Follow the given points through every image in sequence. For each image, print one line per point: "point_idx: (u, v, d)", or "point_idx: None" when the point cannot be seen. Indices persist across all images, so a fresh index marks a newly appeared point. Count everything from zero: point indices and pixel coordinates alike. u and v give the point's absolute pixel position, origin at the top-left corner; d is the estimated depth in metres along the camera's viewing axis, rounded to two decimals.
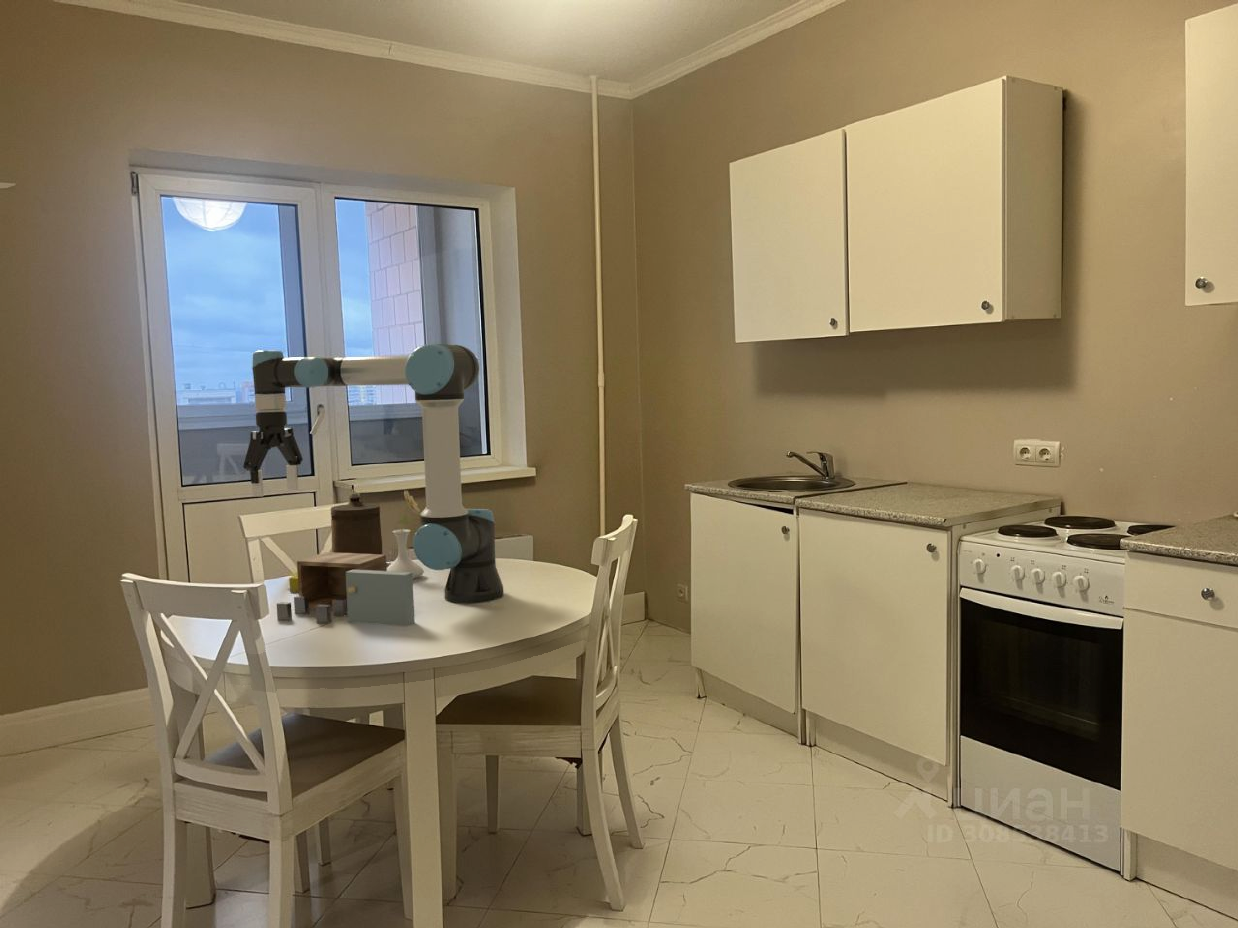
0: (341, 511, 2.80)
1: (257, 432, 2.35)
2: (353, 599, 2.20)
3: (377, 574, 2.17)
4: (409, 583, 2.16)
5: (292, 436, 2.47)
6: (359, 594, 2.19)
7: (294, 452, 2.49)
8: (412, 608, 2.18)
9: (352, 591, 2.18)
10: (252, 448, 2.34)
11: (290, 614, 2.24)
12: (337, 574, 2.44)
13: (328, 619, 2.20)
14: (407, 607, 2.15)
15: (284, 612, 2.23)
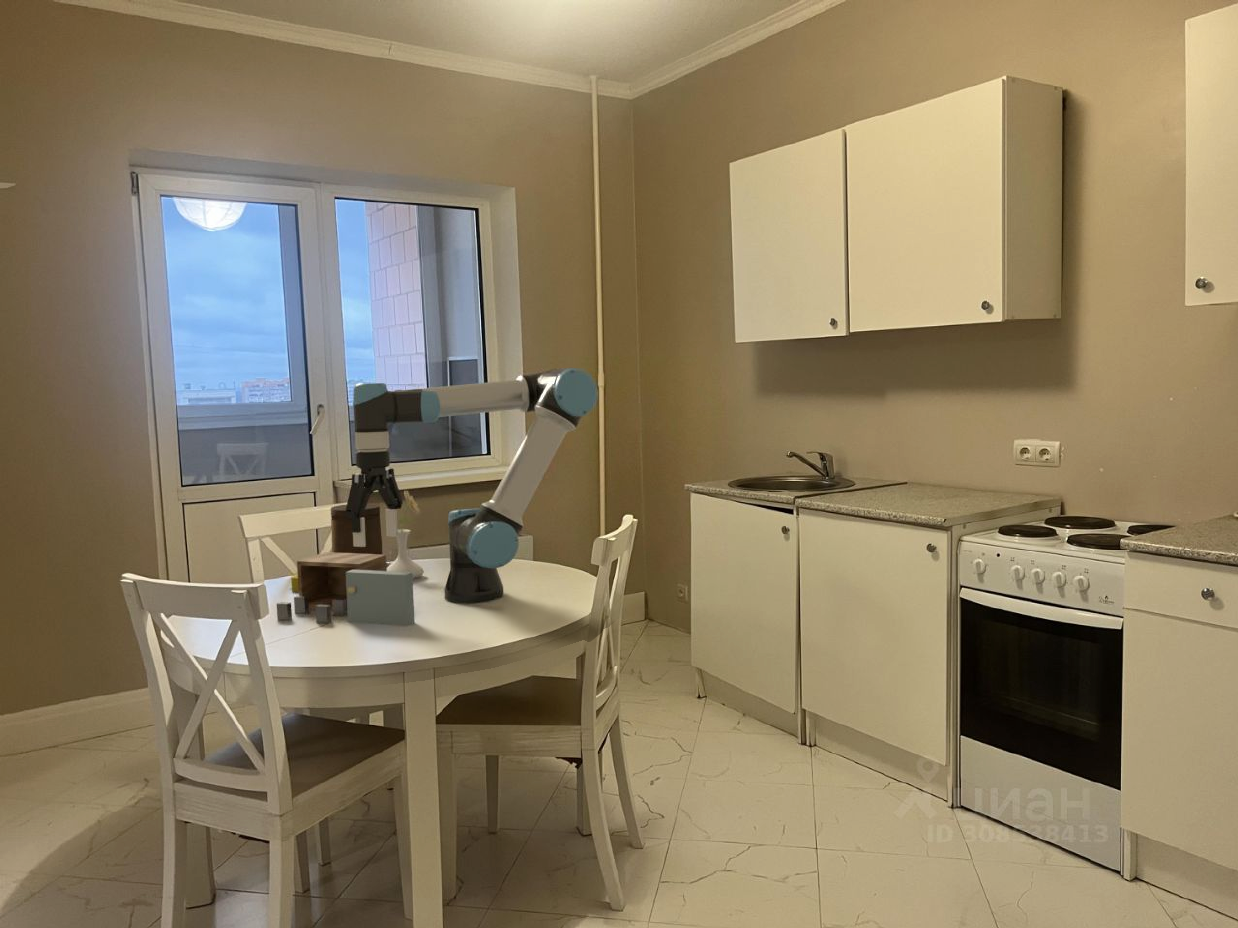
0: (341, 511, 2.80)
1: (360, 475, 2.10)
2: (353, 599, 2.20)
3: (377, 574, 2.17)
4: (409, 583, 2.16)
5: (393, 477, 2.22)
6: (359, 594, 2.19)
7: (394, 495, 2.24)
8: (412, 608, 2.18)
9: (352, 591, 2.18)
10: (354, 493, 2.09)
11: (290, 614, 2.24)
12: (337, 574, 2.44)
13: (328, 619, 2.20)
14: (407, 607, 2.15)
15: (284, 612, 2.23)
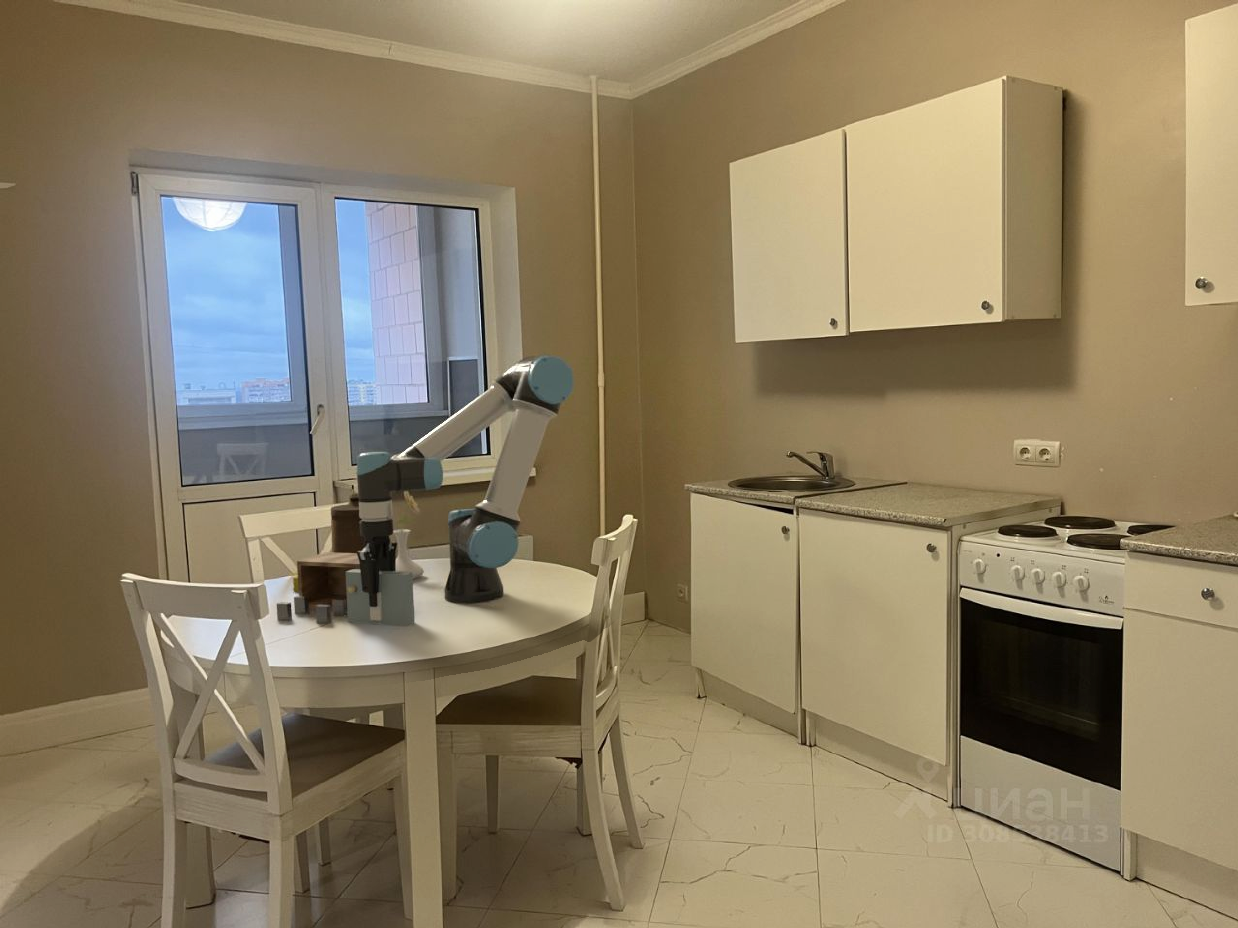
0: (341, 511, 2.80)
1: (364, 554, 2.12)
2: (352, 598, 2.20)
3: None
4: (409, 583, 2.16)
5: (394, 551, 2.23)
6: (359, 593, 2.19)
7: (390, 570, 2.22)
8: (412, 608, 2.18)
9: (352, 591, 2.18)
10: (365, 570, 2.13)
11: (290, 614, 2.24)
12: (337, 574, 2.44)
13: (328, 619, 2.20)
14: (407, 607, 2.15)
15: (284, 612, 2.23)
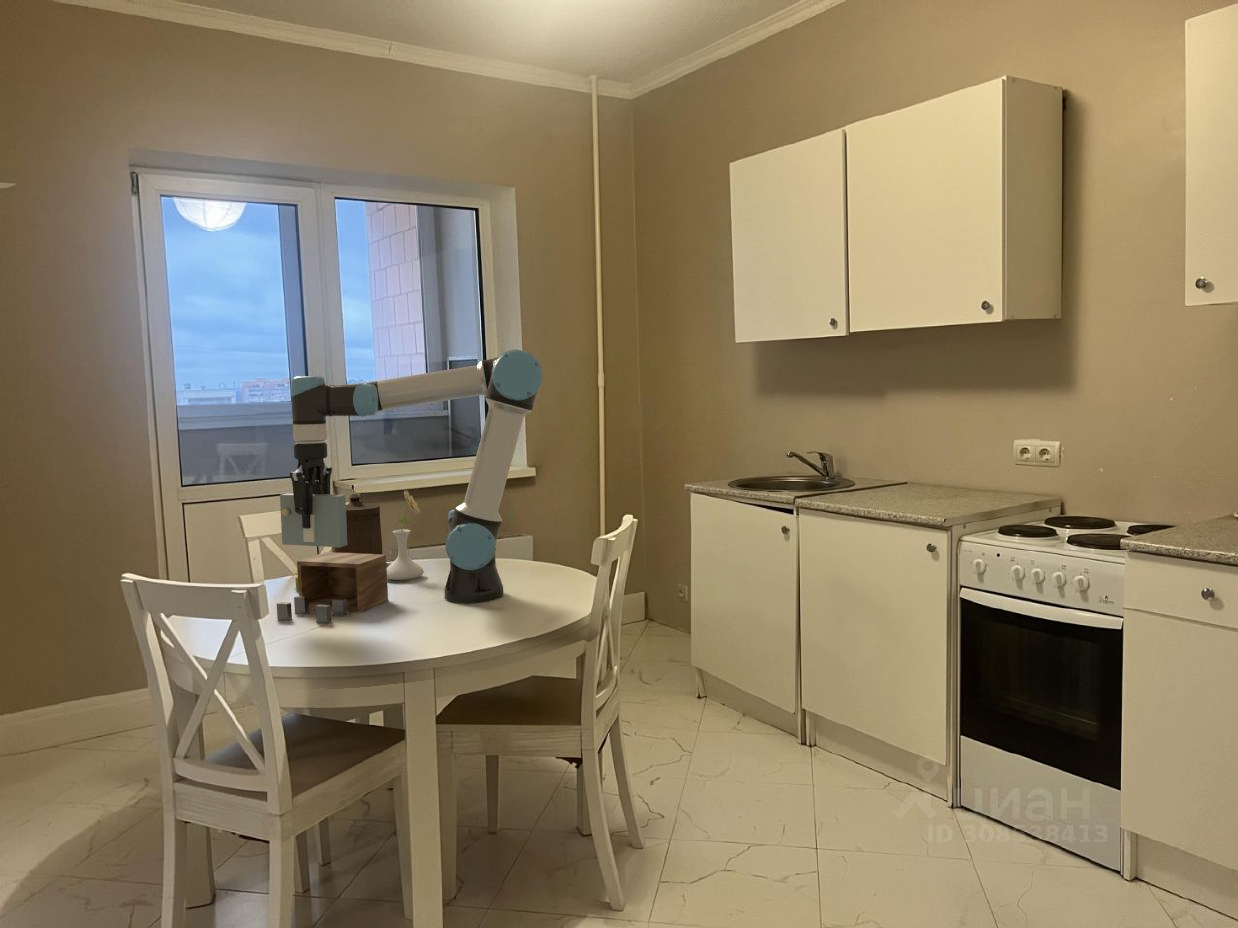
0: None
1: (297, 474, 2.15)
2: (286, 521, 2.23)
3: None
4: (342, 505, 2.20)
5: (329, 476, 2.26)
6: (293, 516, 2.22)
7: None
8: (345, 530, 2.21)
9: (286, 513, 2.21)
10: (297, 491, 2.16)
11: (290, 614, 2.24)
12: (337, 574, 2.44)
13: (328, 619, 2.20)
14: (339, 528, 2.19)
15: (284, 612, 2.23)
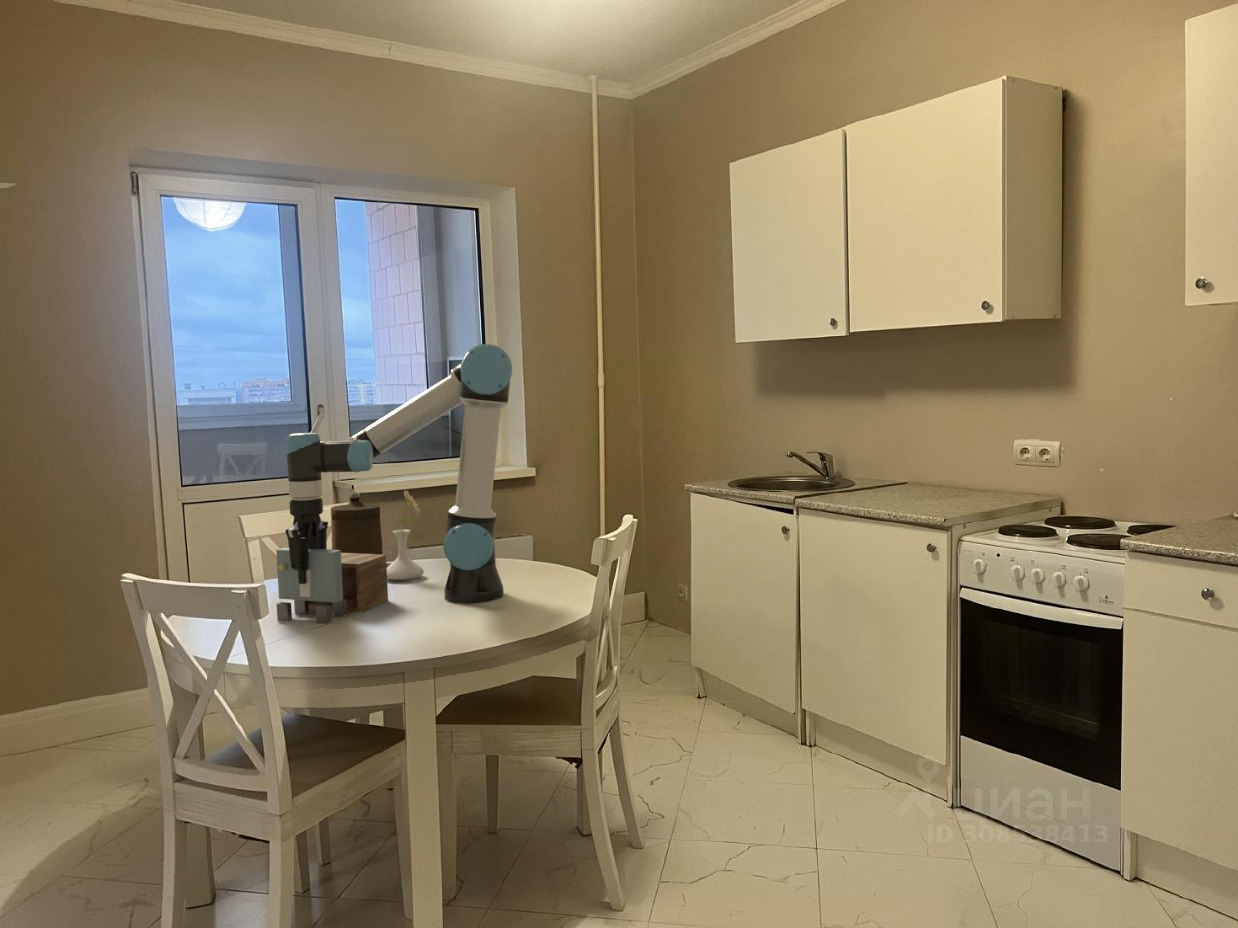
0: (341, 511, 2.80)
1: (292, 531, 2.17)
2: (283, 576, 2.25)
3: None
4: (337, 560, 2.22)
5: (325, 530, 2.28)
6: (289, 571, 2.24)
7: None
8: (340, 585, 2.23)
9: (282, 568, 2.24)
10: (293, 548, 2.19)
11: (290, 614, 2.24)
12: None
13: (328, 619, 2.20)
14: (335, 584, 2.21)
15: (284, 612, 2.23)
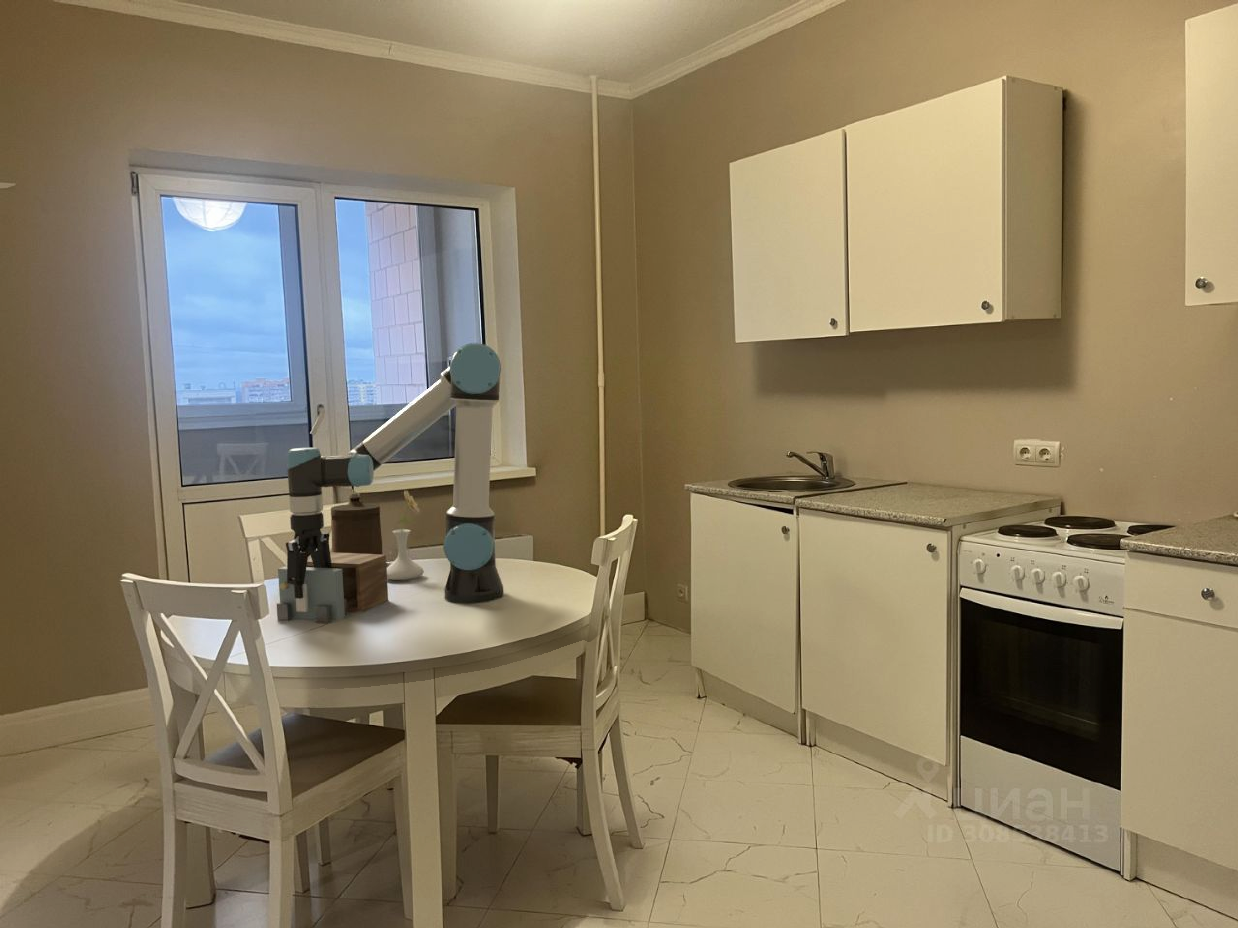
0: (341, 511, 2.80)
1: (293, 544, 2.17)
2: (285, 595, 2.26)
3: (308, 570, 2.23)
4: (339, 579, 2.22)
5: (327, 542, 2.29)
6: (291, 590, 2.25)
7: (325, 560, 2.29)
8: (342, 604, 2.24)
9: (284, 587, 2.24)
10: (291, 561, 2.18)
11: (290, 614, 2.24)
12: None
13: (328, 619, 2.20)
14: (336, 603, 2.21)
15: (284, 612, 2.23)
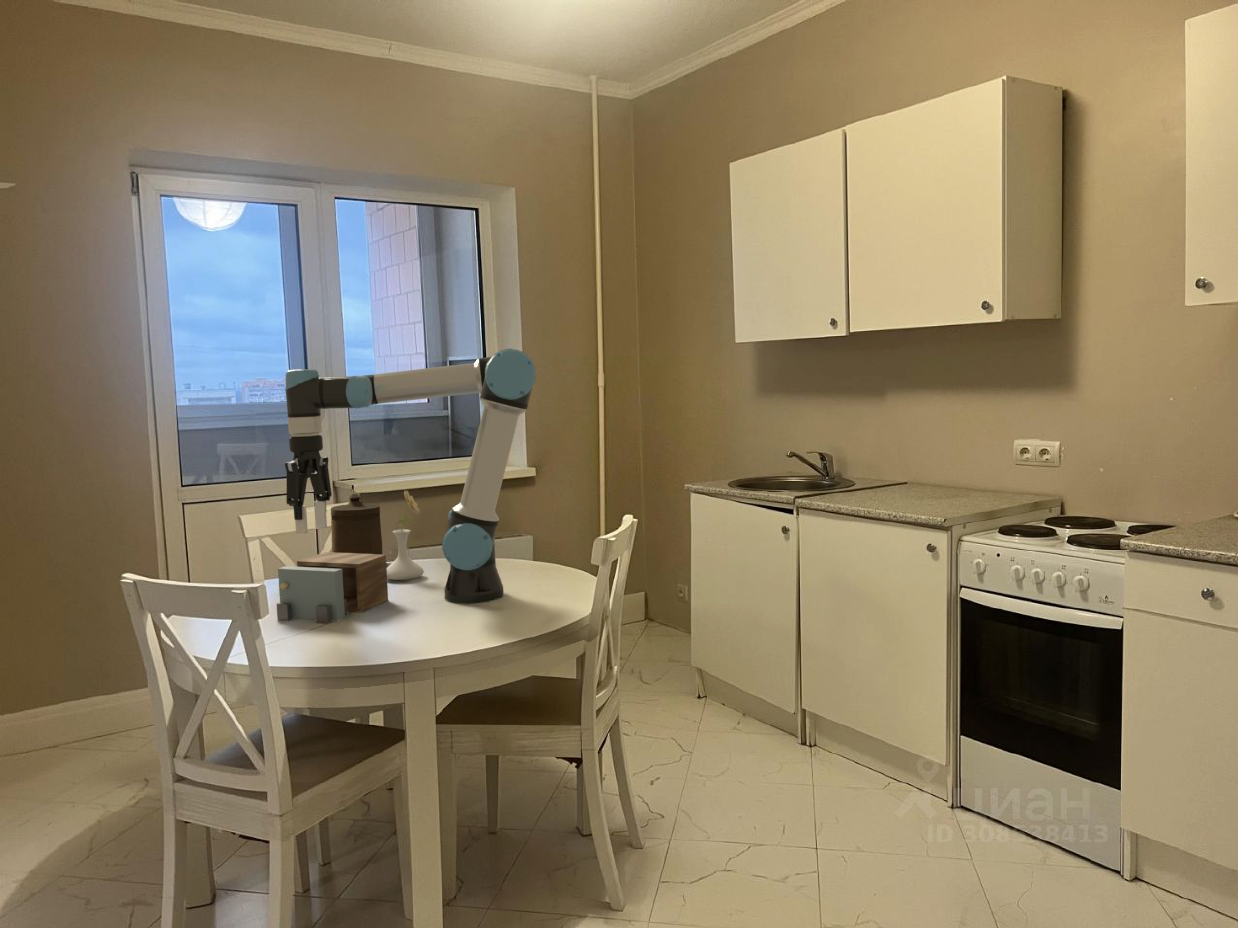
0: (341, 511, 2.80)
1: (292, 464, 2.16)
2: (285, 595, 2.26)
3: (308, 570, 2.23)
4: (339, 579, 2.22)
5: (326, 466, 2.28)
6: (291, 590, 2.25)
7: (324, 485, 2.29)
8: (342, 604, 2.24)
9: (284, 587, 2.24)
10: (291, 482, 2.17)
11: (290, 614, 2.24)
12: None
13: (328, 619, 2.20)
14: (336, 603, 2.21)
15: (284, 612, 2.23)
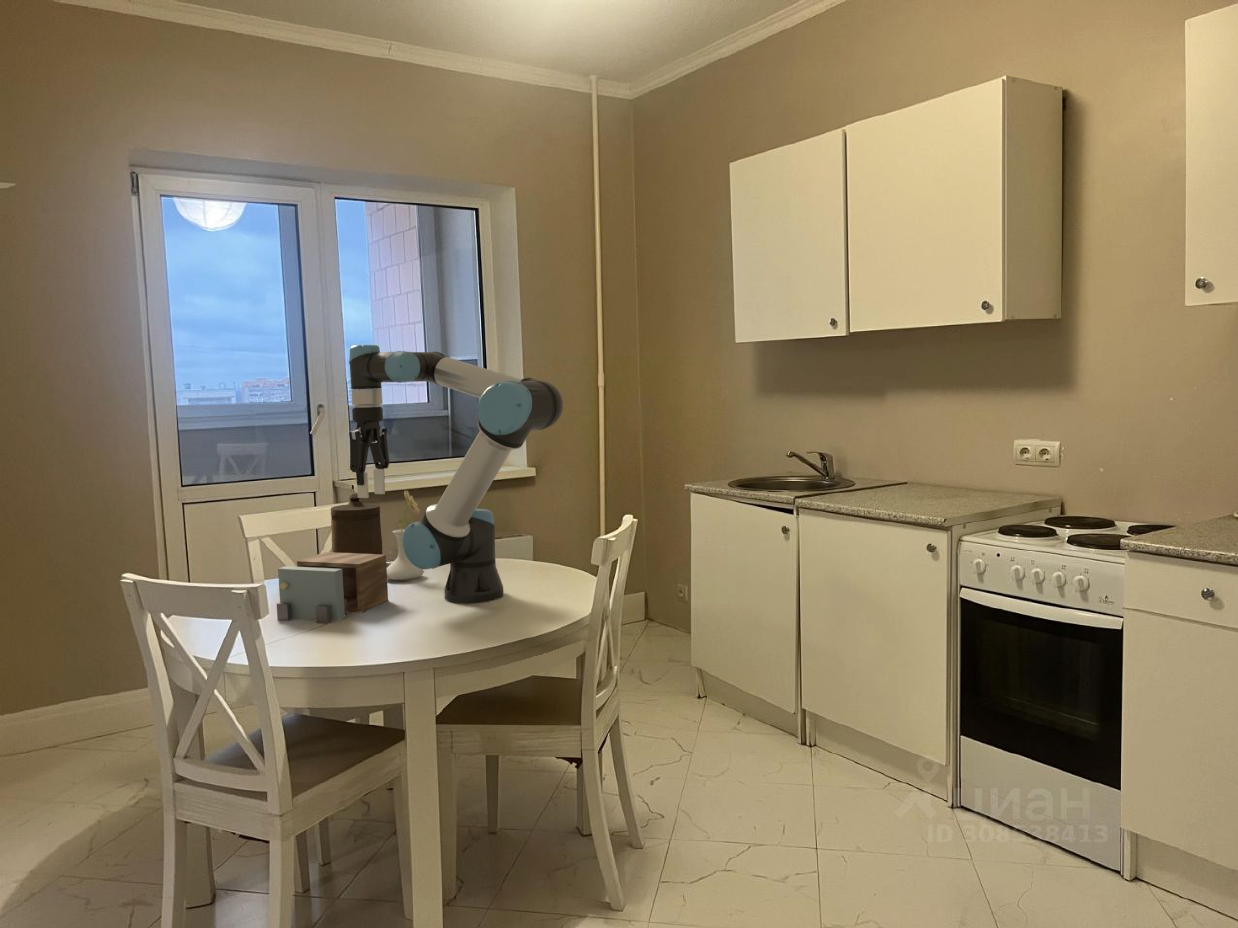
0: (341, 511, 2.80)
1: (356, 432, 2.32)
2: (285, 595, 2.26)
3: (308, 570, 2.23)
4: (339, 579, 2.22)
5: (385, 436, 2.44)
6: (291, 590, 2.25)
7: (383, 454, 2.45)
8: (342, 604, 2.24)
9: (284, 587, 2.24)
10: (354, 449, 2.33)
11: (290, 614, 2.24)
12: None
13: (328, 619, 2.20)
14: (336, 603, 2.21)
15: (284, 612, 2.23)
